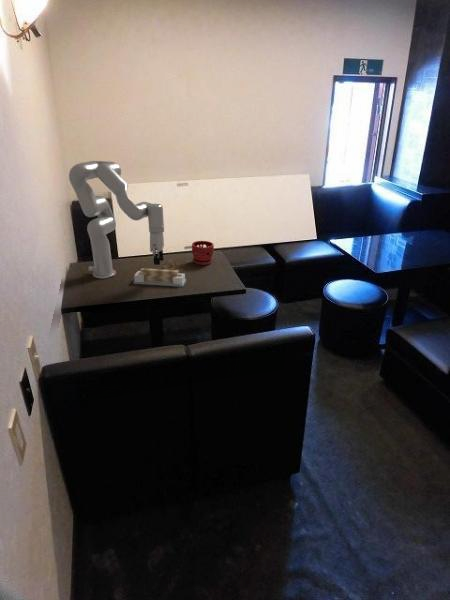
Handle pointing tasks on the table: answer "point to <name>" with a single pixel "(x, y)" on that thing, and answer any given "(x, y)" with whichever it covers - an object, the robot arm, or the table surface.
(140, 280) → the endcap board
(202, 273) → the table surface
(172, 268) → the wooden fragment
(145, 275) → the slat
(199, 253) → the plant pot
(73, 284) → the table surface
